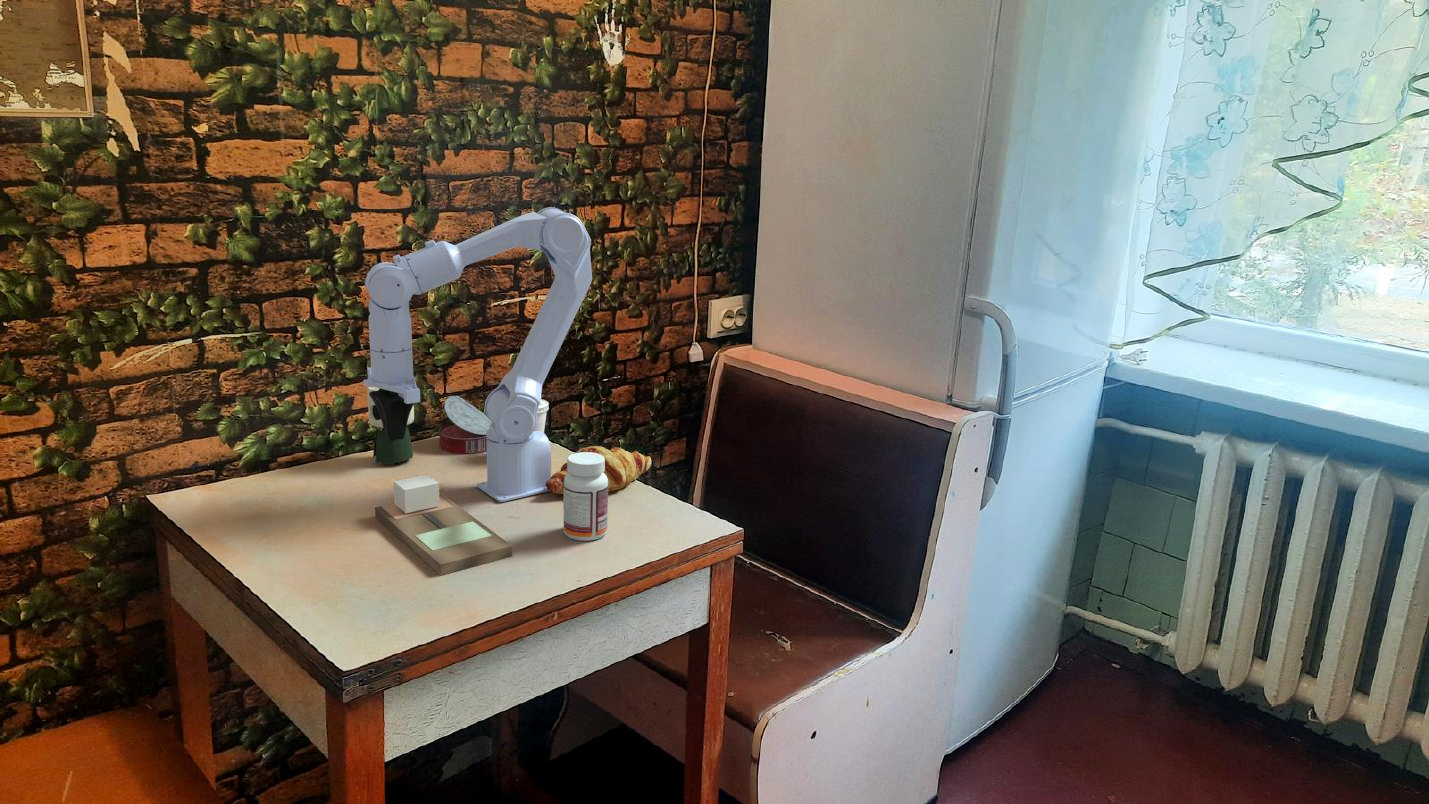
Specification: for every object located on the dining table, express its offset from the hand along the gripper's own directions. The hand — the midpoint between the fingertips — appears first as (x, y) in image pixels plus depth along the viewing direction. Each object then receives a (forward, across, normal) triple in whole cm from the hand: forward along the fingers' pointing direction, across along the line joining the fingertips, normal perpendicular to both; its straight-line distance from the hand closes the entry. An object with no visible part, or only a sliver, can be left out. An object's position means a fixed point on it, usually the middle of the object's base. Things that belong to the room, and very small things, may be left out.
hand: (395, 438), depth 139 cm
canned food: (+10, -18, +20) cm, 29 cm away
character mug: (+10, -17, +6) cm, 21 cm away
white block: (+8, +7, 0) cm, 11 cm away
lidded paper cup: (+10, -7, +26) cm, 29 cm away
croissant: (+10, +10, +29) cm, 33 cm away
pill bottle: (+10, +25, +17) cm, 32 cm away
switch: (+10, +15, 0) cm, 18 cm away
